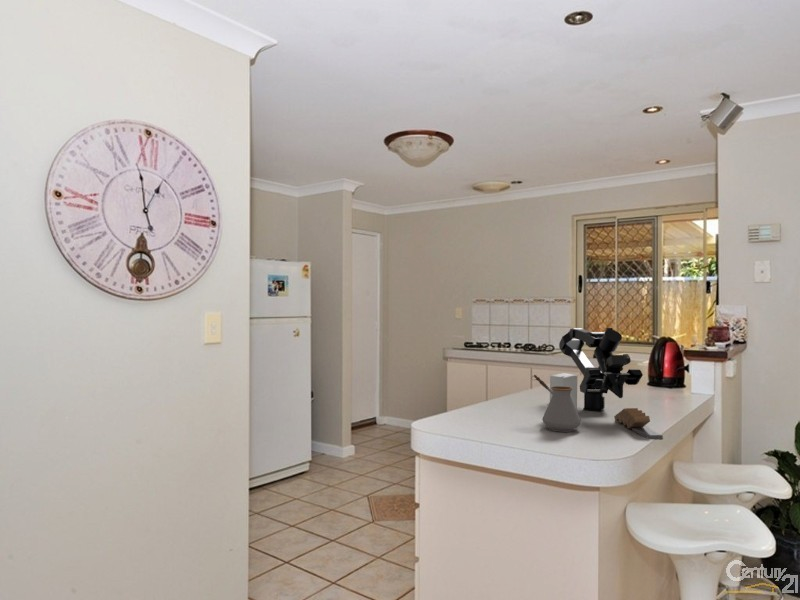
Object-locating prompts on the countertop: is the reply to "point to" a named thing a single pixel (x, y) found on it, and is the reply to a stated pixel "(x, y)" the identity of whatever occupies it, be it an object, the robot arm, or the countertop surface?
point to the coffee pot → (560, 409)
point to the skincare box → (565, 384)
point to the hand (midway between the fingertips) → (621, 397)
